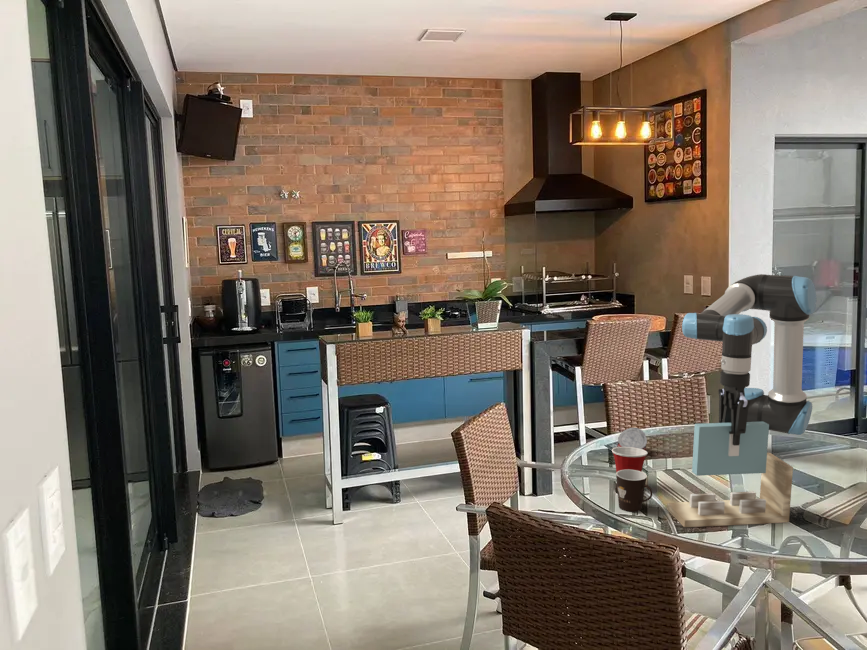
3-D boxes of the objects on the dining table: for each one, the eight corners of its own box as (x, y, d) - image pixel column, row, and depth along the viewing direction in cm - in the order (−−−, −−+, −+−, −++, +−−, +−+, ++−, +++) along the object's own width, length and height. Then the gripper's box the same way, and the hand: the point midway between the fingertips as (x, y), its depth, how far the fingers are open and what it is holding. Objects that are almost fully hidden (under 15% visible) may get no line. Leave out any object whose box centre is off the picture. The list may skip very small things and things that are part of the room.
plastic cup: (647, 482, 235) (648, 446, 233) (645, 495, 225) (646, 457, 223) (612, 478, 238) (613, 442, 236) (608, 490, 228) (609, 453, 226)
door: (760, 469, 210) (763, 421, 208) (765, 473, 207) (769, 424, 205) (692, 471, 208) (694, 423, 206) (696, 475, 205) (699, 426, 203)
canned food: (645, 465, 263) (658, 444, 258) (626, 468, 257) (639, 447, 253) (624, 443, 271) (637, 423, 266) (605, 446, 265) (618, 425, 260)
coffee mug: (611, 502, 220) (612, 470, 218) (639, 501, 220) (640, 468, 219) (624, 518, 208) (625, 484, 207) (654, 517, 209) (655, 483, 207)
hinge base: (765, 504, 217) (769, 452, 214) (788, 522, 205) (793, 467, 203) (666, 509, 214) (669, 456, 212) (684, 527, 203) (687, 471, 200)
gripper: (708, 365, 210) (704, 444, 214) (736, 378, 195) (731, 463, 198) (734, 364, 211) (729, 443, 215) (764, 377, 195) (758, 462, 199)
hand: (730, 453), depth 207 cm, fingers closed on door, 3 cm apart
